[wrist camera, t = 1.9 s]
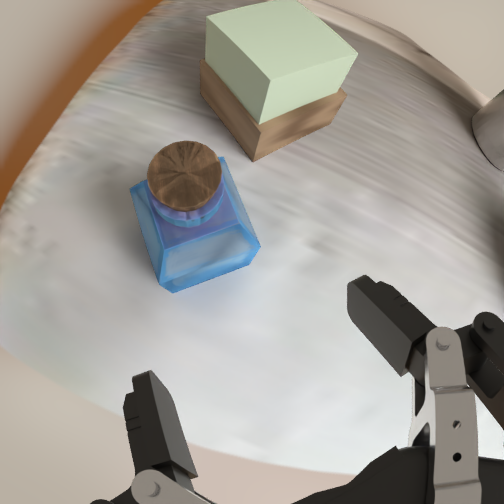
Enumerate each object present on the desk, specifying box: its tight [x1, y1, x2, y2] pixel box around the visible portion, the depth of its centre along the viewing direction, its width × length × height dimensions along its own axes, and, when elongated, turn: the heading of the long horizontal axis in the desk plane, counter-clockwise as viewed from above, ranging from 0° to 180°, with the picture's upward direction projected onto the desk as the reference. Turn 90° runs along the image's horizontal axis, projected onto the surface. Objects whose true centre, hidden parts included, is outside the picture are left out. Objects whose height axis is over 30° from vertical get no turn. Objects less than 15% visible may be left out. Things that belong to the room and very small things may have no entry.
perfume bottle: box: [130, 141, 261, 293], centre depth 19 cm, size 6×6×12 cm
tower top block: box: [205, 0, 358, 124], centre depth 21 cm, size 8×8×5 cm
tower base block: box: [200, 59, 347, 162], centre depth 26 cm, size 9×9×5 cm
